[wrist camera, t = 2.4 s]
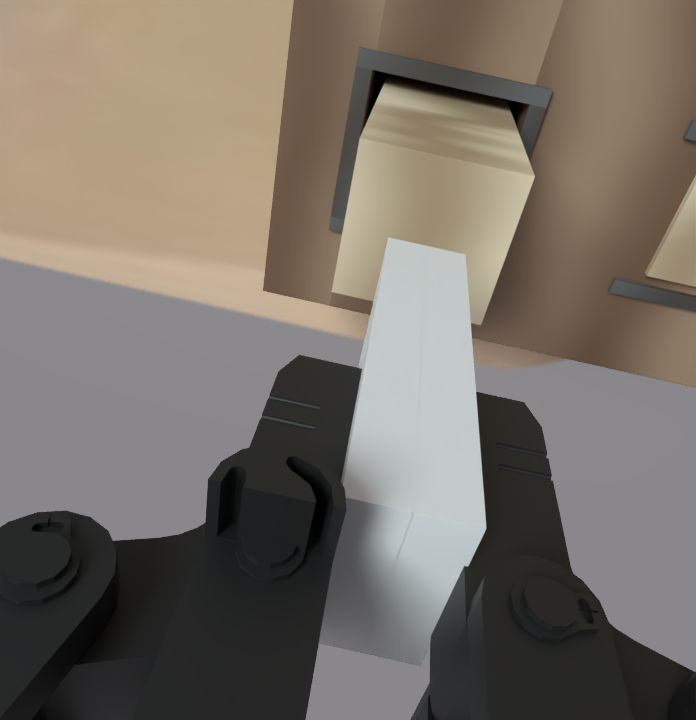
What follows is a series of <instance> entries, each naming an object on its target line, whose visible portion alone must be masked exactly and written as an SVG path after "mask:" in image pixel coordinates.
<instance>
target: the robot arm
mask: <svg viewBox="0 0 696 720" xmlns="http://www.w3.org/2000/svg"><path fill="white" fill-rule="evenodd" d="M546 455H547V450H546V446H545V441H544V436H543V431H542V427H541V426H540V424H539V423H538V421H537V420H536V419H535V417H534V416H533V414H532V413H531V412H530V410H529V409H528V407H527V406H526V405H525V403H524V402H520V401H516V400H511V399H507V398H502V397H497V396H492V395H488V394H484V393H479V392H476V385H475V373H474V358H473V345H472V332H471V319H470V306H469V293H468V280H467V267H466V254H462V253H457V252H453V251H448V250H444V249H439V248H434V247H430V246H425V245H421V244H416V243H412V242H407V241H403V240H398V239H394V238H389V237H388V241H387V245H386V250H385V254H384V258H383V263H382V267H381V271H380V275H379V280H378V284H377V288H376V293H375V297H374V301H373V306H372V310H371V314H370V319H369V323H368V327H367V331H366V336H365V340H364V344H363V349H362V353H361V358H360V363H359V368H356V367H351V366H347V365H342V364H338V363H333V362H328V361H324V360H320V359H315V358H310V357H306V356H301V355H299V356H297V357H296V358H295V359H294V360H293V361H291V362H290V363H289V364H288V365H286V366H285V367H284V368H282V369H281V370H280V371H279V372H278V374H277V377H276V380H275V382H274V385H273V388H272V390H271V393H270V396H269V399H268V400H267V403H266V406H265V408H264V411H263V414H262V418H261V419H260V421H259V424H258V426H257V429H256V432H255V434H254V437H253V440H252V442H251V445H250V447H249V448H247V449H242V450H240V451H239V452H237V453H235V454H233V455H232V456H230V457H228V458H227V459H225V460H223V461H221V463H220V464H219V466H218V467H217V468H216V470H215V471H214V472H213V474H212V475H211V476H210V478H209V479H208V491H207V509H206V523H204V524H203V525H201V526H199V527H198V528H195V529H193V530H190V531H187V532H185V533H182V534H179V535H173V536H168V537H161V538H150V539H135V540H120V541H112V538H111V536H110V534H109V532H108V530H106V529H105V528H104V527H103V526H101V525H100V524H99V523H97V522H96V521H94V520H93V519H92V518H91V517H88V516H84V515H80V514H76V513H72V512H69V511H53V512H37V513H34V514H31V515H28V516H25V517H22V518H19V519H16V520H13V521H10V522H8V523H6V524H5V525H3V526H2V527H0V720H305V719H306V713H307V707H308V701H309V696H310V689H311V684H312V678H313V673H314V667H315V661H316V656H317V650H318V644H319V643H320V644H324V645H329V646H333V647H338V648H342V649H347V650H351V651H356V652H360V653H365V654H369V655H374V656H378V657H383V658H387V659H392V660H396V661H401V662H405V663H410V664H414V665H419V666H420V665H421V664H422V662H423V659H424V657H425V655H426V653H427V651H428V649H429V647H430V683H429V685H428V687H427V689H426V691H425V693H424V695H423V697H422V699H421V700H420V703H419V704H418V706H417V708H416V710H415V712H414V714H413V716H412V718H411V720H696V672H693V671H692V670H690V669H688V668H686V667H684V666H682V665H680V664H678V663H676V662H674V661H672V660H670V659H669V658H667V657H665V656H663V655H661V654H659V653H657V652H655V651H653V650H651V649H650V648H648V647H646V646H644V645H642V644H640V643H638V642H636V641H634V640H633V639H631V638H630V637H628V636H626V635H625V634H623V633H622V632H620V631H618V630H617V629H616V628H614V627H613V626H612V625H611V624H610V623H609V622H608V620H607V617H606V615H605V613H604V610H603V608H602V606H601V603H600V601H599V600H598V599H597V598H596V596H595V595H594V594H593V593H592V591H591V590H590V589H589V588H588V587H587V585H586V584H585V583H584V582H583V581H582V580H581V579H580V578H578V577H577V576H575V575H574V574H573V572H572V569H571V566H570V561H569V557H568V552H567V547H566V543H565V537H564V532H563V528H562V523H561V518H560V513H559V508H558V504H557V499H556V494H555V489H554V484H553V481H551V476H552V475H551V470H550V465H549V460H548V458H546Z"/></svg>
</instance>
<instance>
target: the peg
mask: <svg viewBox="0 0 696 720" xmlns="http://www.w3.org/2000/svg"><path fill="white" fill-rule="evenodd" d="M534 178H535V175H534V172H533V170H532V167H531V164H530V162H529V159H528V156H527V154H526V151H525V148H524V145H523V143H522V140H521V137H520V135H519V132H518V129H517V127H516V124H515V121H514V119H513V116H512V113H511V111H510V108H509V105H508V103H507V100H505V99H500V98H496V97H491V96H487V95H482V94H478V93H473V92H469V91H464V90H460V89H455V88H450V87H446V86H441V85H437V84H432V83H428V82H423V81H419V80H414V79H410V78H405V77H400V76H396V75H391V74H388V76H387V78H386V80H385V83H384V85H383V87H382V89H381V91H380V94H379V96H378V98H377V100H376V103H375V105H374V107H373V109H372V112H371V114H370V116H369V118H368V120H367V123H366V125H365V127H364V129H363V132H362V134H361V136H360V139H359V145H358V150H357V156H356V161H355V167H354V172H353V178H352V183H351V188H350V194H349V199H348V205H347V210H346V216H345V221H344V227H343V232H342V238H341V243H340V249H339V254H338V260H337V265H336V270H335V276H334V281H333V287H332V292H334V293H338V294H343V295H347V296H352V297H356V298H361V299H365V300H370V301H374V297H375V293H376V288H377V284H378V280H379V275H380V271H381V267H382V263H383V258H384V254H385V250H386V245H387V241H388V237H389V238H394V239H398V240H403V241H407V242H412V243H416V244H421V245H425V246H430V247H434V248H439V249H444V250H448V251H453V252H457V253H462V254H466V267H467V280H468V293H469V306H470V319H471V323H473V324H477V325H481V324H482V321H483V318H484V316H485V313H486V310H487V307H488V305H489V302H490V299H491V296H492V294H493V291H494V288H495V285H496V283H497V280H498V277H499V274H500V272H501V269H502V266H503V263H504V261H505V258H506V255H507V252H508V250H509V247H510V244H511V241H512V239H513V236H514V233H515V230H516V228H517V225H518V222H519V219H520V217H521V214H522V211H523V208H524V206H525V203H526V200H527V197H528V195H529V192H530V189H531V186H532V184H533V181H534Z"/></svg>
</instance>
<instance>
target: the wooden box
mask: <svg viewBox="0 0 696 720" xmlns="http://www.w3.org/2000/svg"><path fill="white" fill-rule="evenodd" d="M386 73H389V74H394V75H398V76H403V77H408V78H412V79H417V80H421V81H426V82H430V83H435V84H439V85H444V86H448V87H453V88H457V89H462V90H467V91H471V92H476V93H480V94H485V95H489V96H494V97H496V98H500V99H505V100H507V103H508V105H509V108H510V111H511V113H512V116H513V119H514V121H515V124H516V127H517V129H518V132H519V135H520V137H521V140H522V143H523V145H524V148H525V151H526V154H527V156H528V159H529V162H530V164H531V167H532V170H533V172H534V175H535V178H534V181H533V184H532V186H531V189H530V192H529V195H528V197H527V200H526V203H525V206H524V208H523V211H522V214H521V217H520V219H519V222H518V225H517V228H516V230H515V233H514V236H513V239H512V241H511V244H510V247H509V250H508V252H507V255H506V258H505V261H504V263H503V266H502V269H501V272H500V274H499V277H498V280H497V283H496V285H495V288H494V291H493V294H492V296H491V299H490V302H489V305H488V307H487V310H486V313H485V316H484V318H483V321H482V324H481V325H477V324H473V323H471V332H472V338H477V339H481V340H485V341H490V342H494V343H499V344H503V345H508V346H512V347H517V348H521V349H526V350H530V351H535V352H539V353H544V354H548V355H552V356H557V357H561V358H566V359H570V360H575V361H579V362H584V363H589V364H593V365H597V366H602V367H606V368H611V369H615V370H620V371H624V372H629V373H633V374H637V375H642V376H647V377H651V378H655V379H660V380H664V381H669V382H673V383H678V384H682V385H686V386H691V387H695V388H696V0H294V4H293V13H292V23H291V32H290V42H289V51H288V60H287V70H286V79H285V89H284V98H283V108H282V117H281V126H280V136H279V145H278V155H277V164H276V174H275V183H274V192H273V202H272V211H271V221H270V230H269V240H268V249H267V258H266V268H265V277H264V287H263V291H267V292H271V293H275V294H280V295H284V296H289V297H293V298H298V299H302V300H307V301H311V302H316V303H320V304H325V305H329V306H334V307H338V308H342V309H347V310H351V311H356V312H360V313H365V314H369V315H370V314H371V310H372V306H373V301H370V300H365V299H361V298H356V297H352V296H347V295H343V294H338V293H334V292H332V287H333V281H334V276H335V270H336V265H337V260H338V254H339V249H340V243H341V238H342V232H343V227H344V221H345V216H346V210H347V205H348V199H349V194H350V188H351V183H352V178H353V172H354V167H355V161H356V156H357V150H358V145H359V139H360V136H361V134H362V132H363V129H364V127H365V125H366V123H367V120H368V118H369V116H370V114H371V112H372V109H373V107H374V105H375V103H376V100H377V98H378V96H379V94H380V91H381V89H382V87H383V85H384V83H385V78H386Z"/></svg>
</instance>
